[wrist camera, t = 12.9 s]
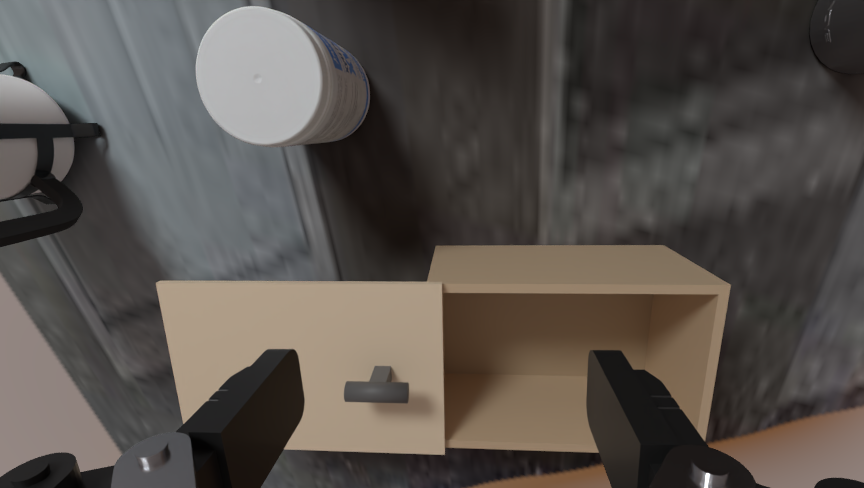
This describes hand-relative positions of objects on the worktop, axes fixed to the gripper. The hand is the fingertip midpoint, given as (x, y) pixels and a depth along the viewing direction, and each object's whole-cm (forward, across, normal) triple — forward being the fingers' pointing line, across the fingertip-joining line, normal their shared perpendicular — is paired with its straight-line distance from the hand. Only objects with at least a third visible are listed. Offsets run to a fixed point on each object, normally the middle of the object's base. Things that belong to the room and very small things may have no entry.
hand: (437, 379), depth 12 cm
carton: (+36, -8, +14) cm, 39 cm away
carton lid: (+23, +14, +13) cm, 30 cm away
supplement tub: (+35, +14, -11) cm, 39 cm away
